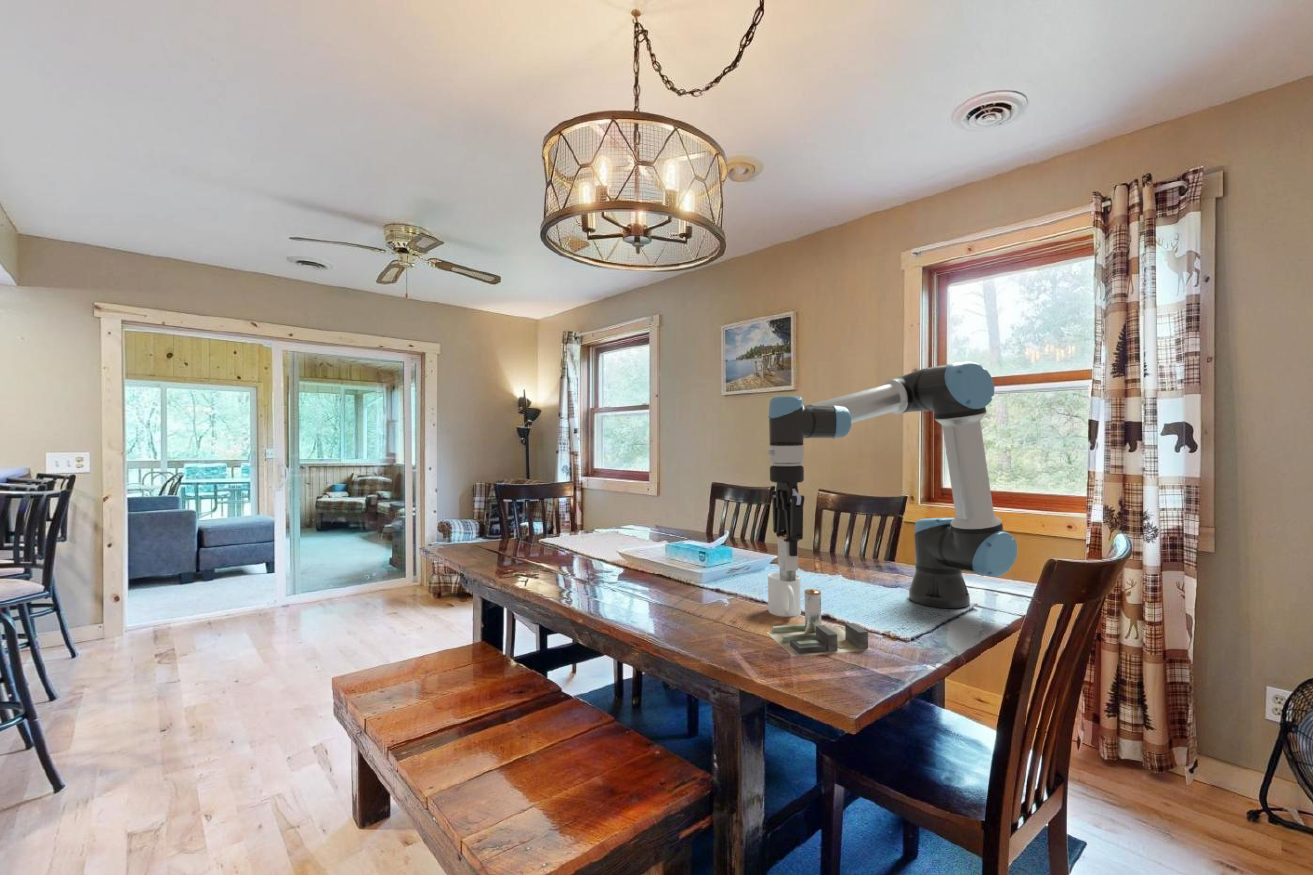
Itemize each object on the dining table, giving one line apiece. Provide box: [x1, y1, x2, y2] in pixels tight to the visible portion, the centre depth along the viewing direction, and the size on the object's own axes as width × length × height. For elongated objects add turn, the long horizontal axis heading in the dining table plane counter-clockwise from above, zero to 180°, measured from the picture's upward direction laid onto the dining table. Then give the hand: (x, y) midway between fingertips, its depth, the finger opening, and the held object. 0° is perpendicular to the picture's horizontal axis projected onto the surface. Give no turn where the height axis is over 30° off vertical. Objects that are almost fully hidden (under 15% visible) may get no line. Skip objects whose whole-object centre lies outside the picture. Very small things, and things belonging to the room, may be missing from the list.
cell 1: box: [779, 534, 797, 582], centre depth 128 cm, size 4×4×10 cm
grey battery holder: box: [765, 622, 873, 658], centre depth 125 cm, size 18×15×4 cm
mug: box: [767, 571, 802, 618], centre depth 145 cm, size 12×8×10 cm
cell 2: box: [804, 588, 822, 634], centre depth 129 cm, size 4×4×10 cm
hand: (787, 567), depth 128 cm, fingers closed on cell 1, 3 cm apart
